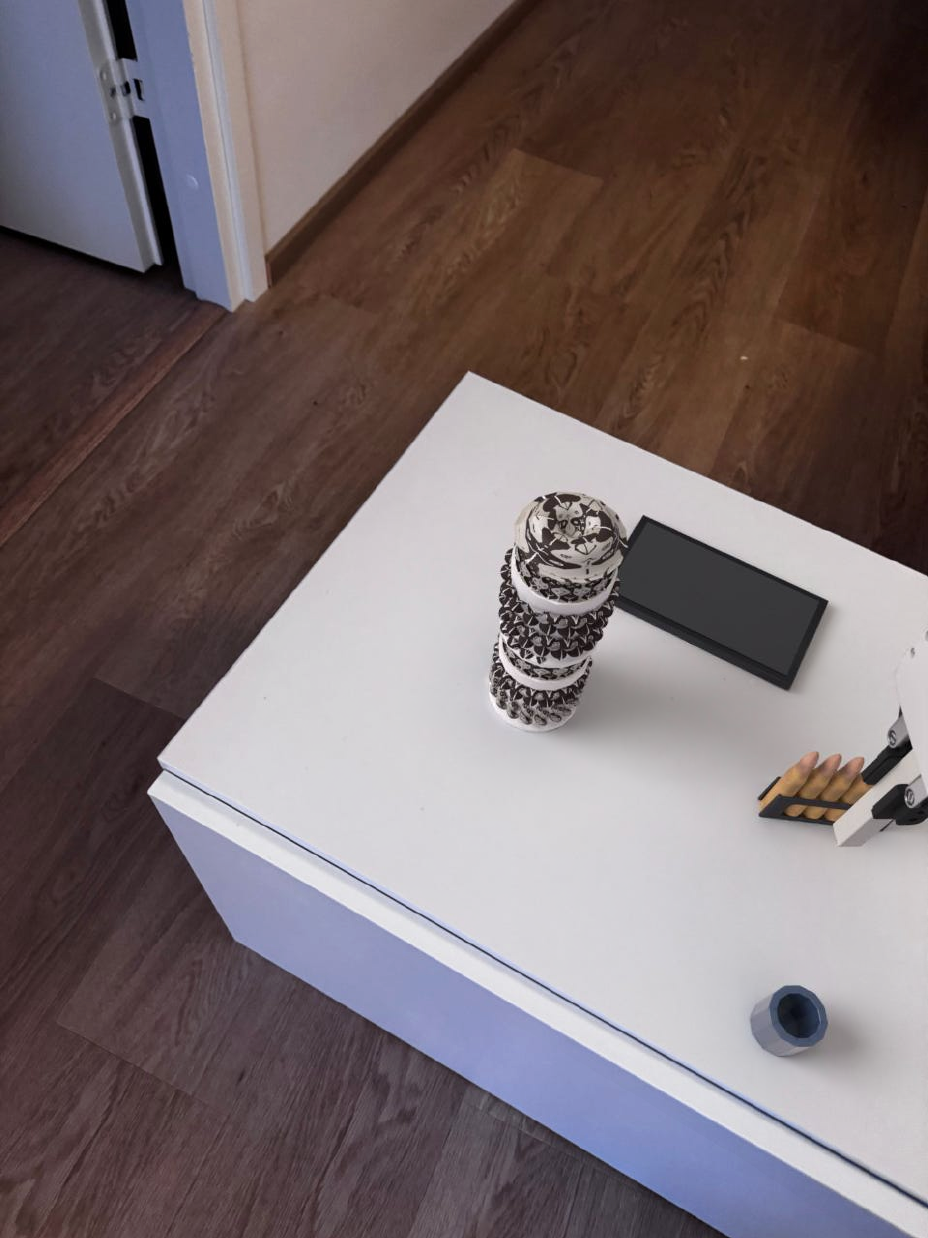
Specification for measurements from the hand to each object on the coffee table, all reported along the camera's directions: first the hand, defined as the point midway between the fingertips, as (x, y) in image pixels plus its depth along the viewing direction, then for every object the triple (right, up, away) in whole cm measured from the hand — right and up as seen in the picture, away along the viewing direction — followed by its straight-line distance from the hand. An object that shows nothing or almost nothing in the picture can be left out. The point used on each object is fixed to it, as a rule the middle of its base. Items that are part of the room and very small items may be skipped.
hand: (891, 795), depth 59 cm
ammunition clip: (+4, -6, +25) cm, 26 cm away
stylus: (0, -4, +7) cm, 8 cm away
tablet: (-2, +13, +36) cm, 38 cm away
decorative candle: (-20, +4, +30) cm, 36 cm away
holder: (-2, -21, +15) cm, 26 cm away
